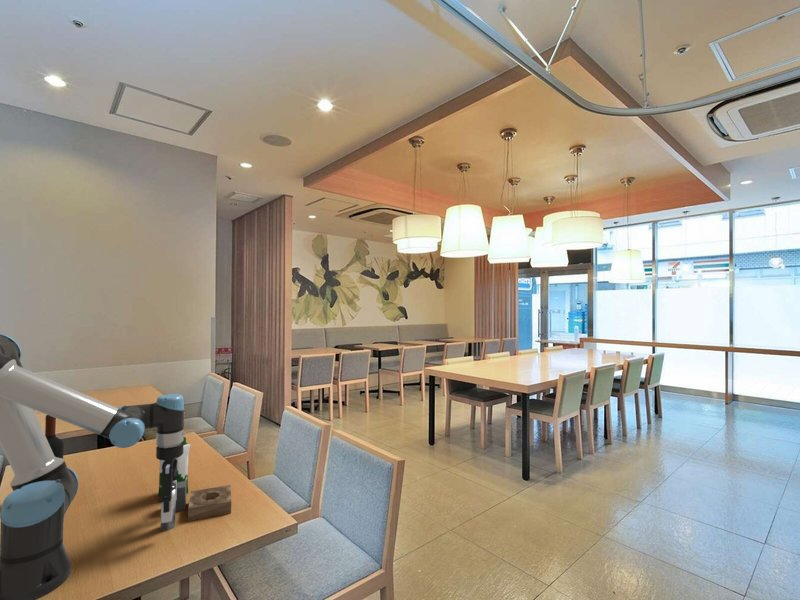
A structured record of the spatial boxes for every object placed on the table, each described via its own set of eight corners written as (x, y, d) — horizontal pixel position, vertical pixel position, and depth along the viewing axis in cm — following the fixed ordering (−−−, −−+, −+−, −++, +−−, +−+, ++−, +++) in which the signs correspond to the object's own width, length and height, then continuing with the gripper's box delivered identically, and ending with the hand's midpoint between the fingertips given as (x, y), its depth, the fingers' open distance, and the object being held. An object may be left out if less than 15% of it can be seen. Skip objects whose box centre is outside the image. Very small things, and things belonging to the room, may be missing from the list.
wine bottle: (45, 505, 137) (47, 418, 137) (27, 502, 138) (30, 417, 139) (67, 495, 144) (70, 413, 145) (50, 492, 146) (53, 411, 146)
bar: (184, 510, 135) (185, 486, 135) (167, 513, 133) (168, 489, 133) (185, 503, 140) (186, 480, 140) (169, 506, 138) (170, 483, 138)
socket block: (231, 512, 134) (231, 501, 134) (187, 520, 128) (188, 508, 128) (230, 495, 146) (230, 484, 146) (190, 502, 140) (190, 491, 140)
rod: (174, 528, 124) (175, 487, 124) (159, 531, 122) (160, 489, 122) (175, 522, 127) (176, 482, 128) (161, 525, 126) (162, 484, 126)
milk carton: (192, 491, 148) (193, 438, 148) (168, 502, 140) (169, 446, 140) (177, 486, 152) (178, 434, 152) (153, 496, 144) (155, 441, 144)
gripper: (179, 456, 115) (178, 528, 115) (186, 430, 138) (185, 491, 138) (149, 460, 112) (148, 534, 112) (161, 433, 135) (161, 495, 135)
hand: (169, 510), depth 125 cm, fingers open, 13 cm apart
